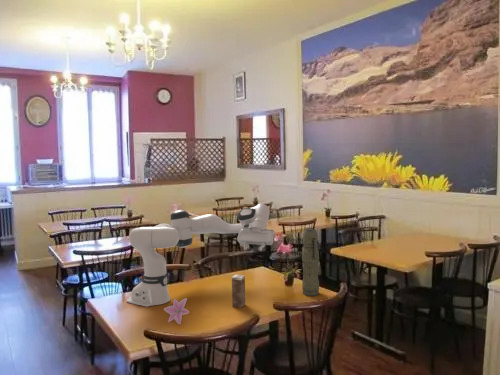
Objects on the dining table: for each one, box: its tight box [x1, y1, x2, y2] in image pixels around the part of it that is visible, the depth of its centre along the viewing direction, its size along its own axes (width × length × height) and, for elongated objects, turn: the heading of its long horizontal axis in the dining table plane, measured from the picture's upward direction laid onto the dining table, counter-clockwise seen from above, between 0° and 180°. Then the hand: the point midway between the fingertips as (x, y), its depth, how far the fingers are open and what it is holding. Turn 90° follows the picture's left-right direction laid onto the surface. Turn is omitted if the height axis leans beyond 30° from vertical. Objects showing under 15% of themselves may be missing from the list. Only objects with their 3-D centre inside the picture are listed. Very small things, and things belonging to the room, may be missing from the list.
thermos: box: [301, 227, 320, 297], centre depth 232 cm, size 9×12×35 cm
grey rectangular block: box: [231, 274, 246, 309], centre depth 216 cm, size 5×5×15 cm
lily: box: [163, 297, 190, 325], centre depth 200 cm, size 12×12×10 cm
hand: (252, 250), depth 235 cm, fingers open, 7 cm apart
